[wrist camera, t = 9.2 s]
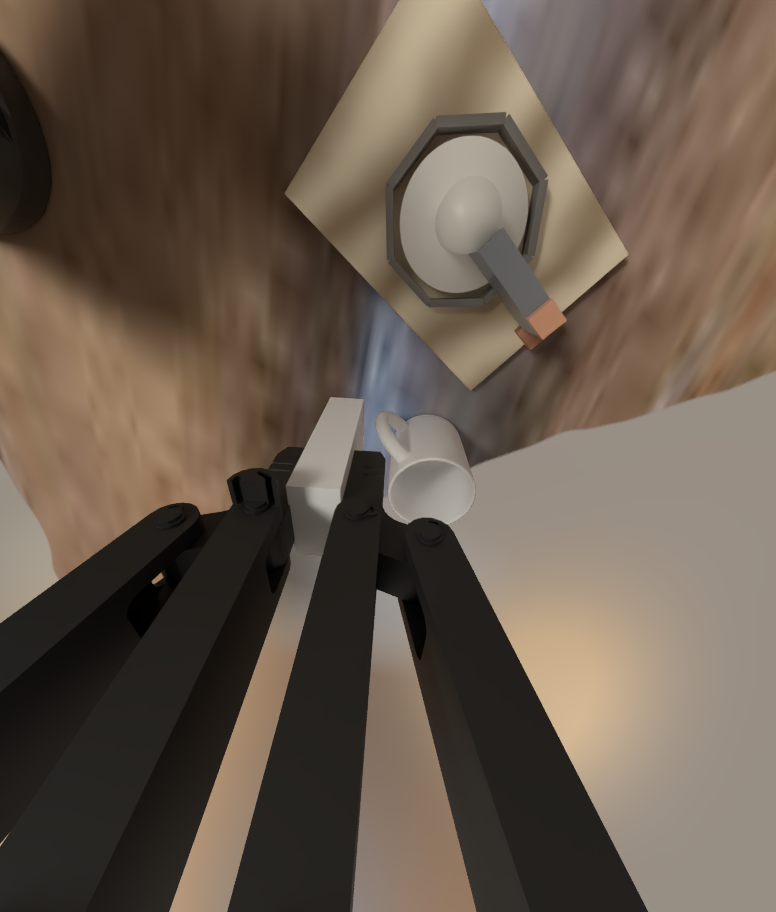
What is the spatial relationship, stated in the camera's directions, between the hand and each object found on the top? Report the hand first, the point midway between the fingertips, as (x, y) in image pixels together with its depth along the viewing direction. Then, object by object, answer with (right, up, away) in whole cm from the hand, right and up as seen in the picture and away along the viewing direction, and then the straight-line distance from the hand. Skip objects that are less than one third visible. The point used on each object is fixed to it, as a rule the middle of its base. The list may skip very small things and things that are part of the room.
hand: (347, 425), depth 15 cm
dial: (+10, +16, +13) cm, 23 cm away
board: (+8, +19, +13) cm, 24 cm away
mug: (+5, +1, +23) cm, 24 cm away
